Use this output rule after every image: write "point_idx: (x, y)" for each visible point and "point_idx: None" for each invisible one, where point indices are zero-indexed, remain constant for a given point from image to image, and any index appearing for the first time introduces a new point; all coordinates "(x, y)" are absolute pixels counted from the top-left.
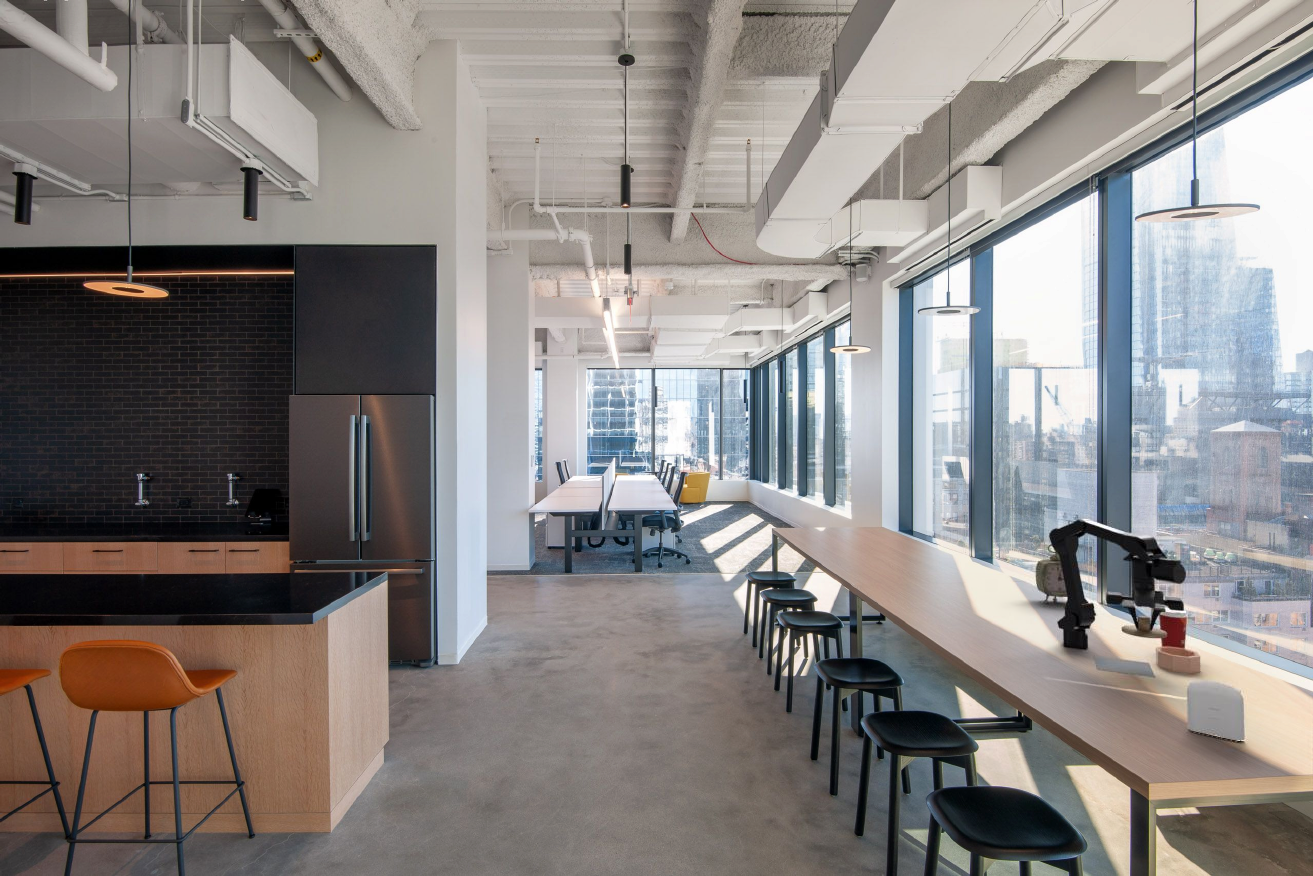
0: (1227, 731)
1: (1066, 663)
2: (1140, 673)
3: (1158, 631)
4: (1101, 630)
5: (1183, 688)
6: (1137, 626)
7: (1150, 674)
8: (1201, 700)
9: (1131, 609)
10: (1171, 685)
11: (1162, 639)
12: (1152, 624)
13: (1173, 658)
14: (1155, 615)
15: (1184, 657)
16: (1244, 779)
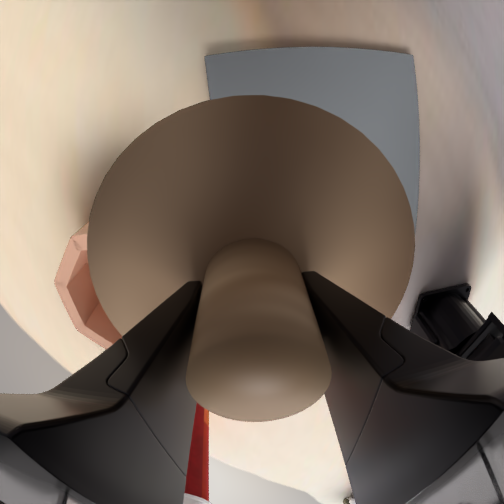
0: None
1: (483, 116)
2: (262, 75)
3: (148, 306)
4: (333, 452)
5: (117, 22)
6: (310, 279)
7: (223, 85)
8: None
9: (501, 370)
10: (152, 25)
11: (202, 423)
12: (167, 309)
13: None
14: (90, 386)
15: (85, 232)
16: None
